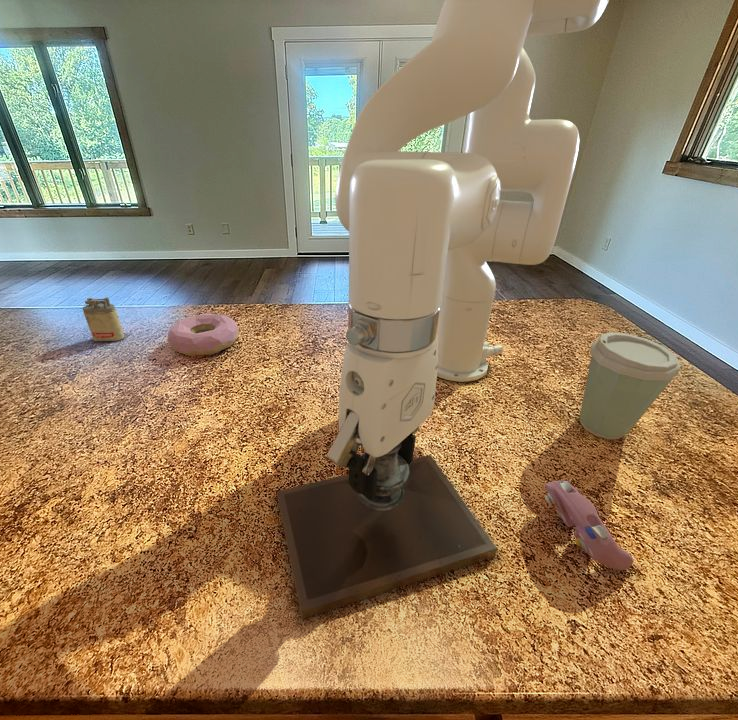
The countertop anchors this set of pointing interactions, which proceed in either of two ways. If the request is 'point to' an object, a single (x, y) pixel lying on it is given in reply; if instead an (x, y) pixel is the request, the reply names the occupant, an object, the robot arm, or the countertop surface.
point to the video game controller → (587, 525)
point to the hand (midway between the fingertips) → (381, 472)
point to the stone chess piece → (388, 481)
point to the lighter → (103, 320)
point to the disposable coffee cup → (623, 382)
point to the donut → (203, 334)
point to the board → (376, 538)
